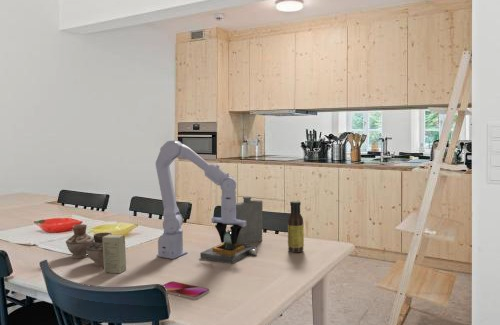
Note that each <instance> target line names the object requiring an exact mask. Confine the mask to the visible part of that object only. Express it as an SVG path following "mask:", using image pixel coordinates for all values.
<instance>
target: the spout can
mask: <svg viewBox="0 0 500 325" xmlns="http://www.w3.org/2000/svg"><path fill="white" fill-rule="evenodd" d="M223 248H224V249H234V248H235V244H232V233H231V229H227V230H226V232H223Z"/></svg>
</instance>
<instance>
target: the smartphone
mask: <svg viewBox="0 0 500 325" xmlns="http://www.w3.org/2000/svg"><path fill="white" fill-rule="evenodd" d="M162 285H163V286H165V288H166V289H167V293H166V294H169V293H171V294H170V295H173V294H175V296H177V295H180V296H179V297H181V296H183V297H182V298H185V297H188V298H187V299H189V298H191V299H190V300H194V299H195V300H198V298H199V299H200V298H202V297H204V296H206V295H207V294H209V293H210V289H209V288H207V287H202V286H197V285H192V284H187V283H183V282H179V281H168V282H166V283H165V284H164V283H163V284H162ZM208 292H209V293H208ZM206 293H207V294H206ZM205 294H206V295H205ZM203 295H204V296H203ZM201 296H202V297H201Z"/></svg>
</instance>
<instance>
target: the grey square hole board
mask: <svg viewBox="0 0 500 325" xmlns="http://www.w3.org/2000/svg"><path fill="white" fill-rule="evenodd" d="M249 255H253V256H257V255H258V249H256V245H249V244H245V245H244V244H237V243H236V244H235V248H234V249H224V248H223V243H220V244H217V245H216V246H213V247H211V248H208V249H206V250H203V251H201V252H200V259H203V260H209V261H216V262H223V263H229V264H234V263H236V262H238V261H240V260H242V259H244V258H245V257H247V256H249Z"/></svg>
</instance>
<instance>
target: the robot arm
mask: <svg viewBox="0 0 500 325" xmlns="http://www.w3.org/2000/svg"><path fill="white" fill-rule="evenodd" d="M159 150H160V151H159V153H158V155H157V158H156V161H155V169H156V173H157V179H158V184H159V188H160V189H159V190H160V195H161V199H162V206H163V221H162V229H163V233H162V234H161V235H160V236H159V237H158V239H157V254H156V257H159V258H166V259H171V260H174V259H176V258H178V257H181V256H183V255H186V254H188V251H186V250H184V246H183V245H184V238H183V236H184V233H183V232H184V231H183V228H182V225H183V224H184V218H183V215H182V214H181V213H180V208H179V207H178V205H177V200H176V193H175V191H174V190H175V189H174V183H173V178H172V173H171V168H170V167H171V164H172V163H173V162H174V160H175V159H176V158H180V159H187V160H189V161H190V162H191V163H193V164H194V165H196V166H197V167H198V168H200V169H201V170H202V171H204V176H205V177H206V178H208V179H209V180H210V181H212V182H213V183H214V184H215V185H216V186H218V187H219V188H220V190H221V196H220V200H221V202H220V205H221V207H220V208H221V213H220V214H221V215H220V216H221V217H216V216H213V217H211V223H212V224H215V229H216V230H217V233H218V235H219V239H220V242H221V243H220V244H222V243H223V232H226V231H227V227H228V226H227V225H230V230H231V233H232V244H236V242H237V238H238V235H239V232H240V230H241V228H242V227H244V226H246V221H244V220H239V219H236V203H237V196H236V194H237V192H236V188H237V180H236V179H235V178H234V177H233V176H231V175H230V174H229V173H226V172H225V171H224V170H222V169H221V168H220V165H219V164H215V163H208V162H207V161H206V160H205V159H203V157H201V156H200V155H199V154H198V153H196V151H194V150H193V149H192V148H190V147H189V146H187V145H186V144H183V143H182V142H181V141H179V140H178V139H177V140H176V139H175V140H167V141H166V142H164V143H163V145H162V146H161V147H160V149H159Z"/></svg>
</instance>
